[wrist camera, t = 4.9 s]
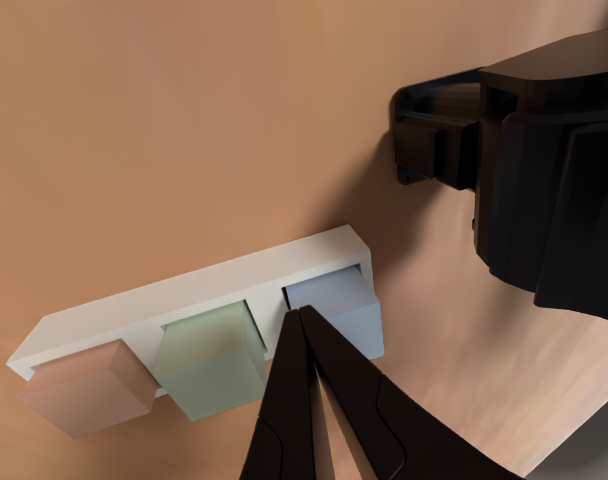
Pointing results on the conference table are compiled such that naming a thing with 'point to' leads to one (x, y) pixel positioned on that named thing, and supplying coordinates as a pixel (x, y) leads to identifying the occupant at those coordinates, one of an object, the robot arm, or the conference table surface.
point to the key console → (194, 301)
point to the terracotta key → (91, 389)
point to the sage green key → (213, 361)
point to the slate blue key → (344, 307)
